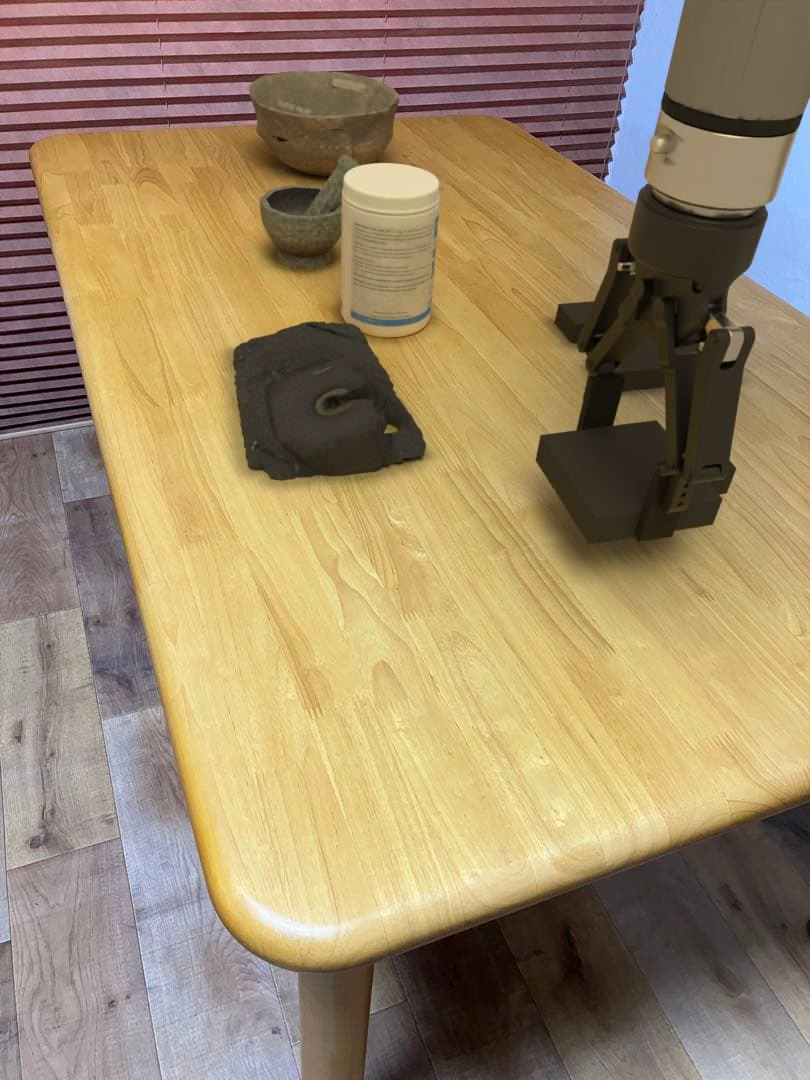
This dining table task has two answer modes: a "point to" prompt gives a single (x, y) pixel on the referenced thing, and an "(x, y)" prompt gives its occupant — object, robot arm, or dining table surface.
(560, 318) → the base pad
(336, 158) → the bowl
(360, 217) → the supplement tub
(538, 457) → the small pad
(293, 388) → the dark slate chunk
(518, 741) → the dining table surface
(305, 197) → the mortar and pestle
